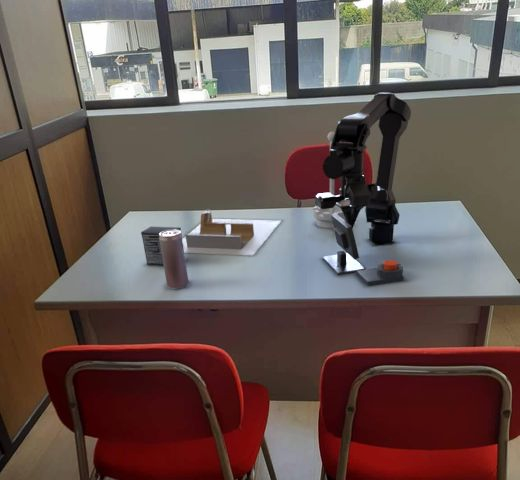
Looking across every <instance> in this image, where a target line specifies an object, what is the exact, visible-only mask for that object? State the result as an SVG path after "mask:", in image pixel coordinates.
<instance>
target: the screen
mask: <svg viewBox="0 0 520 480" xmlns="http://www.w3.org/2000/svg"><path fill="white" fill-rule="evenodd" d="M331 217H332V221H333V225H334V228H332V229H333V233H334V237H335V241H336V243H337V245H338V246H339V247H340V248H341V249H342V250H343V251H344V252H345V253H348V254H349V255H350V256H351V257H352V258H353V259H354V260H358V259H360V255H359V250H358V247H357V243H356V242H357V241H356V237H355V234H354V227H353V228H352V226H351V225H350V224H349V223H347V222H346V221H345V220H343V219H342V218H341V217H340V216H338V215H337V214H336V213H334V214H332V215H331Z"/></svg>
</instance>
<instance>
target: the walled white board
mask: <svg viewBox="0 0 520 480" xmlns="http://www.w3.org/2000/svg"><path fill="white" fill-rule="evenodd" d="M281 222H282V220H273V219H272V220H271V219H269V220H268V219H267V220H266V219H236V218H235V219H233V218H232V219H230V218H229V219H228V218H224V219H223V218H213V217H212V210H211V209H209V208H207V209H205V208H204V209H202V213H201V215H200V224H199V225H197V226H196V227H195V228H194V229H192V230H191V231H190V232H188V231H187V230H186V231H185V233H184V234H185V236H184V237H182V241H183V247H184V254H185V253H188V254H208V255H209V254H210V255H211V254H213V255H229V256H230V255H231V256H233V255H234V256H254V255H255V253H257V251H258V250H259V249H260V247H262V245H263V244H264V242H266V240H267V239H268V238H269V237H270V235H271V234H272V233H273V232H274V230H275V229H276V228H277V227H278V226H279V225H280V223H281Z"/></svg>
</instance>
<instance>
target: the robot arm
mask: <svg viewBox="0 0 520 480" xmlns="http://www.w3.org/2000/svg"><path fill="white" fill-rule="evenodd" d="M411 115H412V111H411V107H410V106H409V105H408V103H407V102H406V101H405V100H402V99H400V98H399V97H397V96H396V95H395V94H394V93H392V92H378V93H375V94H374V96H373V98H372V99H371V100H370V101H369V102H367V104H366V105H365V106H364V107H363V108H361V109H360V110H359V111H358V112H357V113H354V114H350V115H347V116H345V117H342V118H341V119H340V120H339V121H338V124H337V125H336V128H335V131H334V132H335V134H334V138H333V141H332V144H331V147H330V146H329V155H328V156H327V157H325V159H324V160H323V163H322V170H323V171H322V172H323V174H324V175H325V176H326V177H327V178H328V179H329V180H330V179H334V180H337V179H339V178H340V188H339V189H338V190H339V191H338V193H339V194H337V195H335V194H334V195H332V194H331V193H330V191H329V192H323V193H322V192H321V193H317V194H316V195H315V197H314V205H315V206H318V208H321V209H329V208H333V207H334V206H335V205H337V206H338V207H339V208H340V209H341V210H342V212H343V214H344V217H345V219H346V222H347V223H349V224H350V225H351V226H352V228H353V229H354V227H355V224H356V222H357V218H358V216H359V214H360V212H361V210H362V209H363V208H365V209H364V210H365V211H364V212H365V217H366V218H365V219H366V223H370V226H369V229H368V230H369V231H368V238H367V240H369V242H371V243H372V244H373V245H375V246H384V245H390V244H395V243H396V240H394V229H395V225H396V226H397V225H398V224H399V222H400V221H399V220H400V213H399V211H398V209H397V206H396V203H397V202H396V201H397V199H396V197H395V194H394V192H393V184H394V177H395V170H396V165H397V159H398V158H397V157H398V151H399V144H400V138H401V136H403V134H404V133H405V132H406V130H407V128H408V124H409V121H410V119H411ZM377 122H378V129H379V131H380V133H381V136H382V138H381V145H380V153H379V159H378V166H377V167H378V168H377V174H376V180H375V181H376V182H374V183H368V184H367V183H366V178H365V177H366V175H365V174H364V150H366V149H367V145H366V141H367V140H368V138H369V137H370V135H371V128H372V127H373V126H374V125H375V124H376V123H377ZM330 148H331V149H332V150H330Z"/></svg>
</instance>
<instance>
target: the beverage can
mask: <svg viewBox="0 0 520 480" xmlns="http://www.w3.org/2000/svg"><path fill="white" fill-rule="evenodd" d="M181 234H182V231H181V232H180V231H179V230H175V229H172V230H165V231H162V232H160V233H159V240H160V246H161V252H162V258H163V264H164V266H163V269H164V275H165V281H166V286H167V287H168V288H170V289H171V290H172V289H173V290H180V289H184V288H185V287H187V286H188V284H189V276H188V270H187V262H186V256H185V255H186V254H185V252H184V247H183V241H182V239H183V236H182V235H181Z"/></svg>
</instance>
